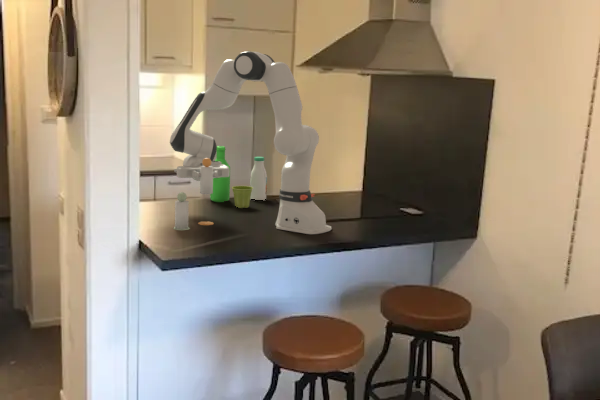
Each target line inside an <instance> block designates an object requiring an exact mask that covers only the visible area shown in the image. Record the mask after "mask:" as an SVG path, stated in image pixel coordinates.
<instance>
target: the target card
mask: <svg viewBox="0 0 600 400" xmlns="http://www.w3.org/2000/svg"><path fill="white" fill-rule="evenodd" d="M197 224H198V225H200V226H213V225H214V222H213V221H199V222H198V223H197ZM190 229H191V227H189V226H188V229H185V230H184V231H187V230H190ZM173 230H175V231H179V230H178V229H175V226H174V227H173Z"/></svg>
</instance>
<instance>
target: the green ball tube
mask: <svg viewBox="0 0 600 400" xmlns="http://www.w3.org/2000/svg"><path fill="white" fill-rule="evenodd" d="M176 199H177V200H175V201H174V214H175V215H174V227H175V229H178V230H177V231H186V230H185V229H188V227H189V204H190V203H189V200H187V199H188V198H187V194H186V193H185V192H183V191H182V192H179V193H177V195H176ZM175 229H174V230H175ZM188 230H189V229H188Z"/></svg>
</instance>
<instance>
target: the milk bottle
mask: <svg viewBox="0 0 600 400" xmlns="http://www.w3.org/2000/svg"><path fill="white" fill-rule="evenodd" d="M253 158H254V159H253V160H254V161H253V162H254V165H253V167H252V169H251V171H250V179H249V180H250V182H249V184H250V185H249V186H250V187H253V189H252V192H251V197H250V200H251V199H255V200H263V201H266V200H267V193H268V192H267V191H268V190H267V189H268V188H267V186H268V185H267V184H268V174H267V170H266V168H265V164H264V163H265V157H264V156H254V157H253ZM265 199H266V200H265ZM255 200H254V201H255Z"/></svg>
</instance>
